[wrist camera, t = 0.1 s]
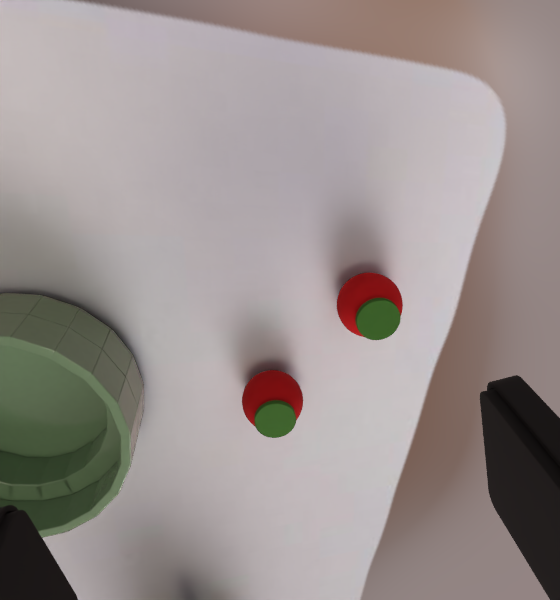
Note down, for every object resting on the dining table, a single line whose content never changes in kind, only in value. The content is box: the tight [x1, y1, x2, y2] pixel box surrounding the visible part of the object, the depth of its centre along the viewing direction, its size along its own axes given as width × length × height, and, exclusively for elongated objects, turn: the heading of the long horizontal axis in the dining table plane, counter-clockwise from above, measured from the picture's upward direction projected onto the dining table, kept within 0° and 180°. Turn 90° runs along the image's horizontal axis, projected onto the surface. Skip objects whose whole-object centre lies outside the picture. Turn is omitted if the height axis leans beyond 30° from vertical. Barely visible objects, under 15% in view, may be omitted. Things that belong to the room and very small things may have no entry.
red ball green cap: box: [337, 273, 403, 340], centre depth 33 cm, size 4×4×4 cm
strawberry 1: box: [242, 370, 303, 438], centre depth 35 cm, size 4×4×4 cm
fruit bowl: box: [0, 293, 144, 538], centre depth 33 cm, size 14×14×6 cm
